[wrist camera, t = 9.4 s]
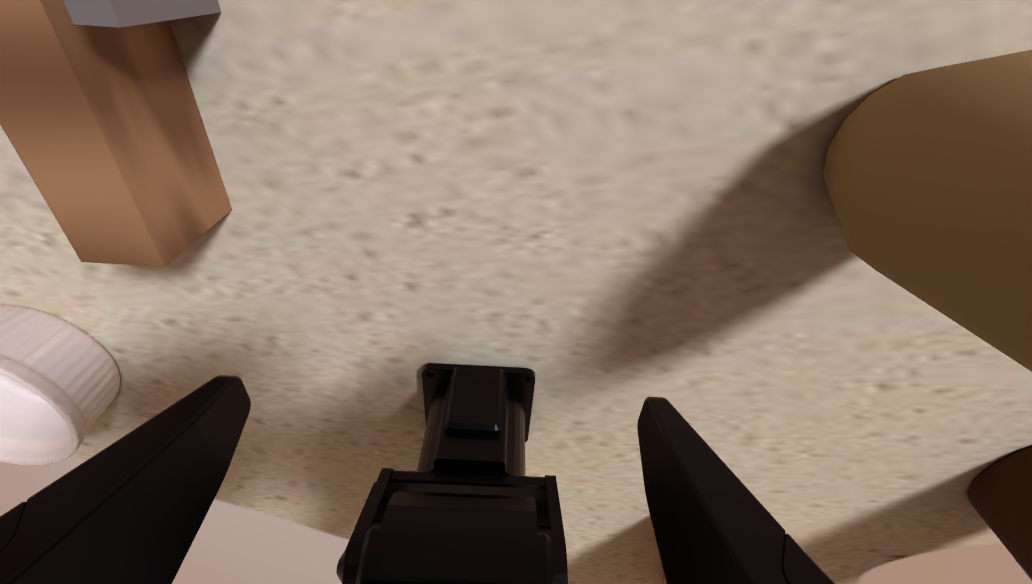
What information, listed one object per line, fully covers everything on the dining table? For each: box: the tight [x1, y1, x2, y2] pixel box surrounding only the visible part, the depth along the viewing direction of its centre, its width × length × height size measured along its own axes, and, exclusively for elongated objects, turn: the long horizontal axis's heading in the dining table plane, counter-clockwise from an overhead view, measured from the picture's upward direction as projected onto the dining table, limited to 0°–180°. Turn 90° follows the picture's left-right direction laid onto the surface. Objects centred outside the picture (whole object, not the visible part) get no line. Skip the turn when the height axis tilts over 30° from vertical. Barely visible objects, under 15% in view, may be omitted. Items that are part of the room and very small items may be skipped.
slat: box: [0, 0, 232, 266], centre depth 15 cm, size 12×3×5 cm, turn 177°
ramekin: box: [0, 305, 120, 465], centre depth 25 cm, size 9×9×4 cm
